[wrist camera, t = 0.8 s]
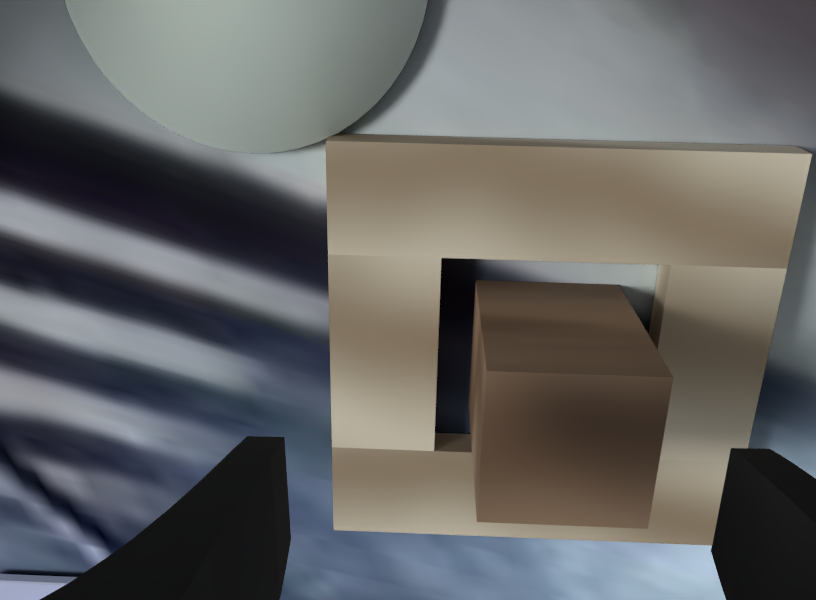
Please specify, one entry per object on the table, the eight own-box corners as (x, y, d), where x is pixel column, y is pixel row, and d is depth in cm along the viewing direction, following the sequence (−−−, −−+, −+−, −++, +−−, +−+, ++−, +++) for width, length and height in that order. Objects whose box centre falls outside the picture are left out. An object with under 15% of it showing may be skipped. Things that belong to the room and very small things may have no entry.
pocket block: (715, 524, 25) (726, 545, 24) (337, 509, 25) (333, 530, 24) (795, 146, 20) (812, 154, 19) (330, 133, 20) (325, 141, 19)
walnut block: (602, 408, 23) (647, 528, 18) (468, 404, 23) (476, 522, 18) (619, 284, 22) (673, 377, 17) (475, 280, 22) (486, 370, 17)
